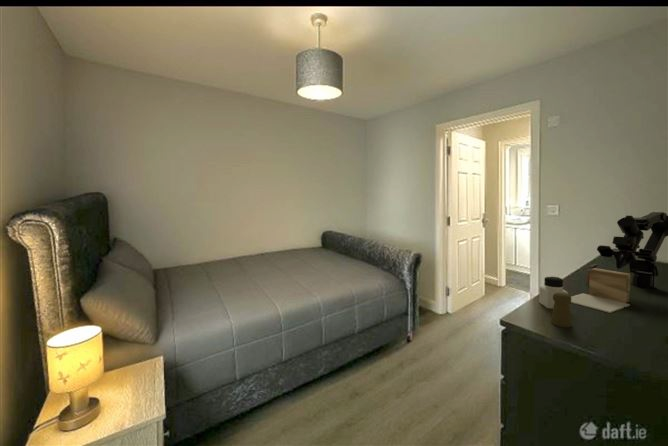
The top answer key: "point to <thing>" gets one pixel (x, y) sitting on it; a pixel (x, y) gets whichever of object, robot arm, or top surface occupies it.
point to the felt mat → (597, 303)
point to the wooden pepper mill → (561, 310)
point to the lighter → (589, 272)
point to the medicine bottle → (550, 291)
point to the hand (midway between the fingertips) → (618, 268)
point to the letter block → (609, 285)
